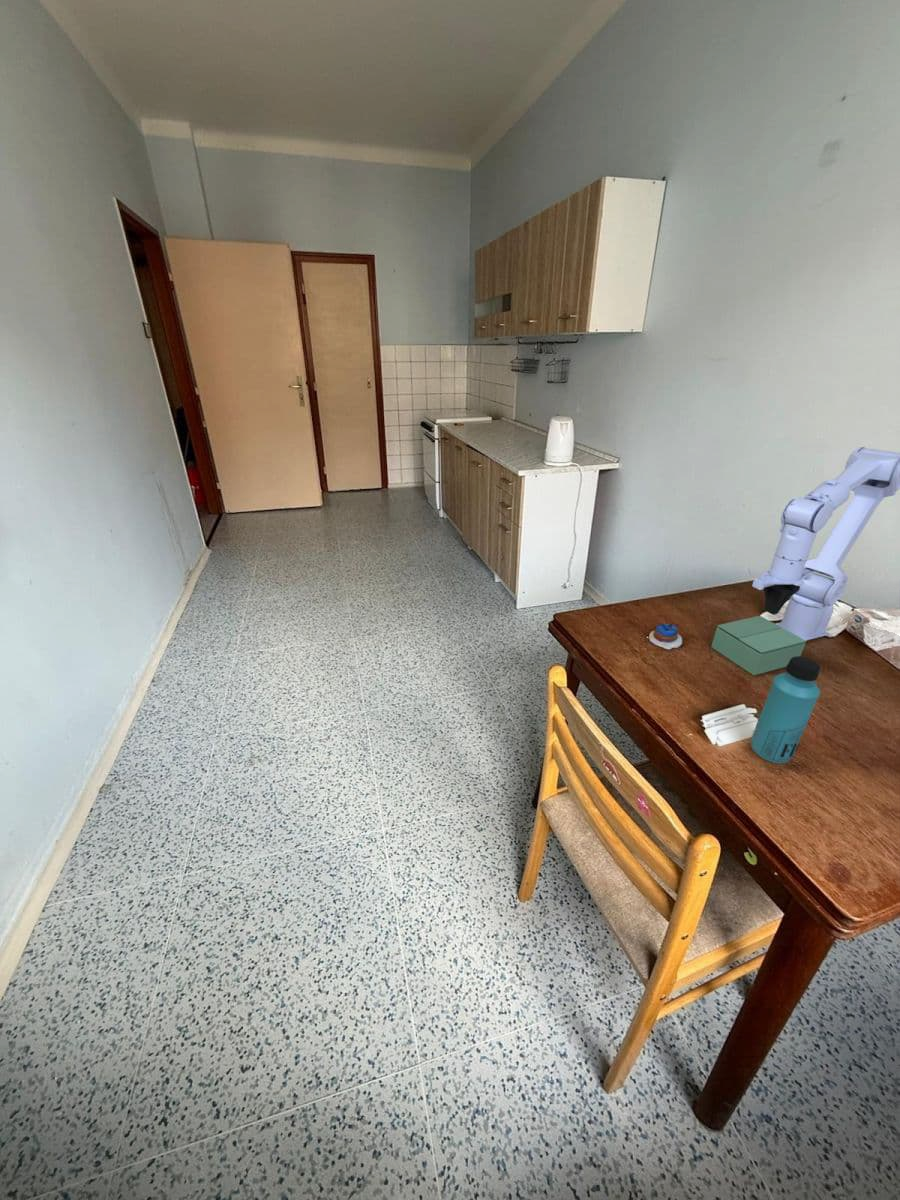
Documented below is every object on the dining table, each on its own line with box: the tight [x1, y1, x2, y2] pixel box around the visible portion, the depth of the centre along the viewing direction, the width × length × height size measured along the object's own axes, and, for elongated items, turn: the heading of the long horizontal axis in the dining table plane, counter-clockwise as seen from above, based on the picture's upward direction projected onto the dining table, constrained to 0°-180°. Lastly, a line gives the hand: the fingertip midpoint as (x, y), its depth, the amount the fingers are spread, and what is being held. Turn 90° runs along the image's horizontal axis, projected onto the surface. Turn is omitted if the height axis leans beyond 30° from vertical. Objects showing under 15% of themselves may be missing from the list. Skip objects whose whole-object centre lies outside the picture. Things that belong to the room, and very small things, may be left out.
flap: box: [739, 628, 807, 653], centre depth 103 cm, size 13×6×1 cm, turn 109°
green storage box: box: [711, 615, 806, 676], centre depth 107 cm, size 13×12×6 cm
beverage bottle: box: [749, 656, 821, 764], centre depth 77 cm, size 6×7×20 cm
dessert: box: [648, 623, 683, 650], centre depth 114 cm, size 8×7×6 cm
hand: (771, 612), depth 105 cm, fingers closed
